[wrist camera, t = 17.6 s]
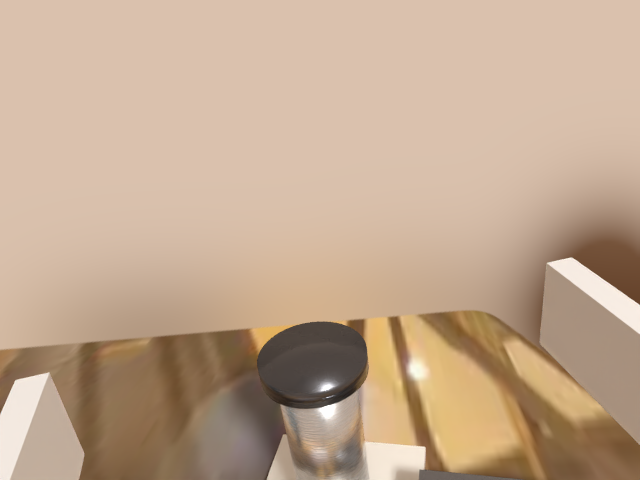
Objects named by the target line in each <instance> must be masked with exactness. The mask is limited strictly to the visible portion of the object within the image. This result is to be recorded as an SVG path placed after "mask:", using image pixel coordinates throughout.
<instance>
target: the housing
mask: <svg viewBox="0 0 640 480" xmlns="http://www.w3.org/2000/svg"><path fill="white" fill-rule="evenodd" d="M419 480H521V479H511V478H501V477H491V476H481V475H471V474H461V473H451V472H441V471H431V470H421V469H420V470H419Z"/></svg>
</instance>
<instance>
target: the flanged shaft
mask: <svg viewBox="0 0 640 480" xmlns="http://www.w3.org/2000/svg"><path fill="white" fill-rule="evenodd" d="M257 366H258V371H259V376H260V380H261V384H262V387H263V390H264V391H265V393H266V394H267V395H268V396H269V397H270V398H271V399H272V400H274V401H275V402H277V403H279V404H280V407H281V411H282V416H283V420H284V425H285V430H286V434H287V439H288V444H289V448H290V453H291V458H292V462H293V467H294V472H295V476H296V480H370V477H369V469H368V461H367V454H366V446H365V438H364V431H363V423H362V415H361V408H360V400H359V393H358V389H359V388H360V387H361V385H362V384H363V383H364V381H365V379H366V377H367V374H368V369H369V365H368V356H367V347H366V343H365V341H364V339H363V338H362V336H361V335H360V334H359V333H358V332H357V331H355V330H354V329H352V328H350V327H348V326H345V325H342V324H339V323H333V322H310V323H304V324H300V325H296V326H293V327H291V328H288V329H286V330H284V331H282V332H280V333H278V334H277V335H275V336H274V337H272V338H271V339H270V340H269V341H268V342H267V343H266V344H265V345H264V346H263V348H262V349H261V351H260V353H259V355H258V360H257Z"/></svg>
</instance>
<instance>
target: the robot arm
mask: <svg viewBox="0 0 640 480" xmlns="http://www.w3.org/2000/svg"><path fill="white" fill-rule="evenodd" d="M540 344H541V345H542V346H543V347H544V348H545V349H546V350H547V351H548V352H549V353H550V355H551V356H552V357H553V358H554V359H555V360H556V361H557V362H558V363H559V364H560V365H561V366H562V367H563V368H564V369H565V370H566V371H567V372H568V373H569V374H570V375H571V376H572V377H573V378H574V379H575V380H576V381H577V382H578V383H579V384H580V385H581V386H582V387H583V388H584V389H585V390H586V391H587V392H588V393H589V394H590V395H591V396H592V397H593V398H594V399H595V400H596V401H597V402H598V403H599V404H600V405H601V406H602V407H603V408H604V409H605V410H606V411H607V412H608V413H609V414H610V415H611V416H612V417H613V418H614V419H615V420H616V421H617V422H618V423H619V424H620V425H621V426H622V427H623V428H624V429H625V430H626V431H627V432H628V433H629V434H630V435H631V436H632V437H633V438H634V439H635V440H636V441H637V442H638V444H639V445H640V305H639V304H637V303H636V302H635V301H633V300H632V299H630V298H629V297H627V296H626V295H624V294H623V293H622V292H620V291H619V290H617V289H616V288H614V287H613V286H612V285H610V284H609V283H607V282H606V281H605V280H603V279H602V278H600V277H599V276H597V275H596V274H595V273H593V272H591V271H590V270H589V269H587V268H586V267H585V266H583V265H582V264H580V263H579V262H577V261H576V260H575V259H573V258H567V259H563V260H558V261H554V262H549V263H547V265H546V276H545V287H544V298H543V310H542V322H541V332H540ZM84 455H85V454H84V452H83V450H82V447H81V445H80V443H79V440H78V438H77V436H76V433H75V431H74V429H73V426H72V424H71V422H70V419H69V417H68V415H67V412H66V410H65V408H64V406H63V403H62V401H61V399H60V396H59V394H58V392H57V389H56V387H55V385H54V382H53V380H52V378H51V375H50V373H45V374H41V375H36V376H32V377H27V378H22V379H18V380H15V383H14V385H13V387H12V389H11V391H10V394H9V396H8V398H7V400H6V403H5V405H4V407H3V409H2V412H1V414H0V480H79V477H80V472H81V468H82V464H83V459H84Z"/></svg>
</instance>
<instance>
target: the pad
mask: <svg viewBox="0 0 640 480" xmlns="http://www.w3.org/2000/svg"><path fill="white" fill-rule="evenodd" d="M365 446H366V454H367V461H368V469H369V477H370V480H419V470H420V469H421V470H425V460H426V448H425V447H420V446H409V445H398V444H387V443H375V442H365ZM267 480H296V476H295V472H294V467H293V462H292V458H291V453H290V448H289V444H288V439H287V435H285V434H283V437H282V439H281V442H280V445H279V447H278V450H277V453H276V455H275V458H274V461H273V464H272V466H271V469H270V472H269V474H268V477H267Z"/></svg>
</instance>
